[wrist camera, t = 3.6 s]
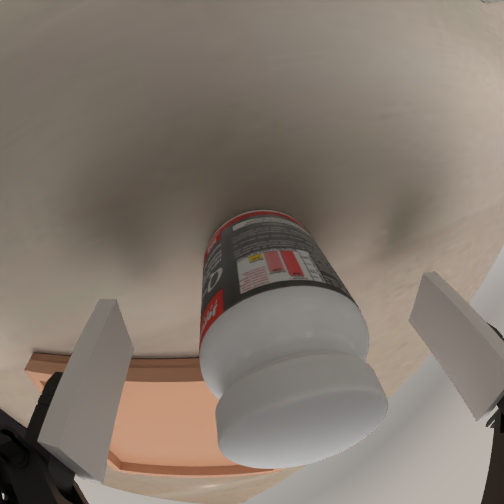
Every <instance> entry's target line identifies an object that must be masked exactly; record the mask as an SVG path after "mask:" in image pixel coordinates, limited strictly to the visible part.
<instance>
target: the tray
mask: <svg viewBox="0 0 504 504" xmlns="http://www.w3.org/2000/svg"><path fill="white" fill-rule="evenodd" d="M70 357H71V356H60V355H49V354H40V353H33V354H32V356H31V358H30V360H29V362H28V364H27V366H26V368H25V370H24V371H25V372H26V373H27V375H28V376H29V378H30V379H31V380H32V382H33V383H34V385H35V386H36V387H37V389H38V390H39V391H40V392H41V394H42V391H43V389H44V386H45V384H46V382H47V380H48V379H49V378H50V377H51V376H52V375H53V374H54V373H55V372H63V373H64V370H65V368H66V366H67V364H68V362H69V359H70ZM218 402H219V400H218V399H217V398H216V397H215V396H214V395H213V394H212V392H211V391H210V390H209V388H208V387H207V385H206V383H205V381H204V379H203V376H202V373H201V368H200V361H199V358H188V359H131V361H130V364H129V368H128V372H127V375H126V379H125V383H124V387H123V391H122V395H121V399H120V403H119V407H118V411H117V415H116V420H115V424H114V429H113V434H112V438H111V443H110V448H109V453H108V459H107V464H108V465H109V466H110V467H112V468H113V469H114V470H115V471H117V472H124V473H131V474H140V475H150V476H162V477H184V478H214V477H235V476H248V475H258V474H267V473H275V472H281V471H282V468H277V469H261V468H252V467H247V466H243V465H240V464H237V463H234V462H232V461H230V460H228V459H227V458H226V457H225V456H224V455H223V454H222V453H221V451H220V449H219V446H218V436H217V426H216V418H215V410H216V406H217V404H218Z"/></svg>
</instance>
